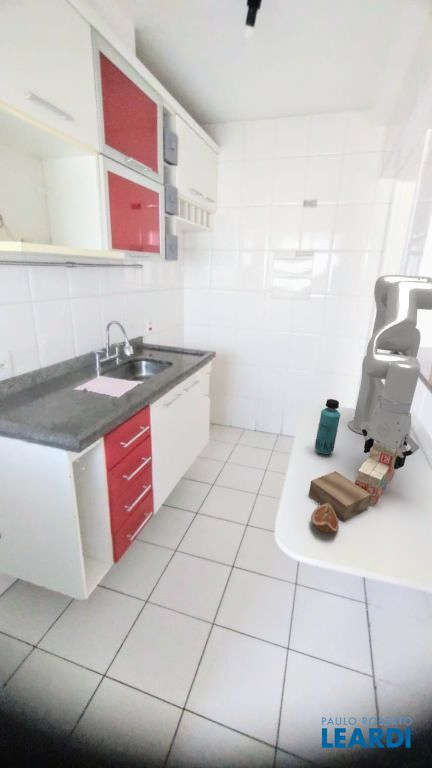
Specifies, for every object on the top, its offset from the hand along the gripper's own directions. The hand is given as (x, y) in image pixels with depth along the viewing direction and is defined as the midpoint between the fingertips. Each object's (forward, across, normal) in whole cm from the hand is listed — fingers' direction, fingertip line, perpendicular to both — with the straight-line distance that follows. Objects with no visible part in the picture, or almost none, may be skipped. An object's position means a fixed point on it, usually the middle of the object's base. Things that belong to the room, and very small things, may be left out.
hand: (382, 459), depth 100 cm
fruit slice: (+10, +4, -27) cm, 30 cm away
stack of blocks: (+10, -1, 0) cm, 10 cm away
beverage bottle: (+9, -21, 0) cm, 23 cm away
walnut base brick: (+10, 0, -16) cm, 19 cm away
